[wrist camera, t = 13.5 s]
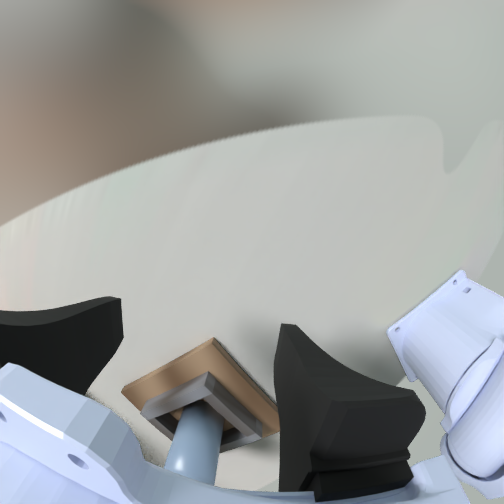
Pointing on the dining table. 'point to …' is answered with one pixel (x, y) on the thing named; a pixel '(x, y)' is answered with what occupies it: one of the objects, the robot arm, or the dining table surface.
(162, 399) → the holder
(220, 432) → the tube
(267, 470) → the dining table surface
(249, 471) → the dining table surface
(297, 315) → the dining table surface
